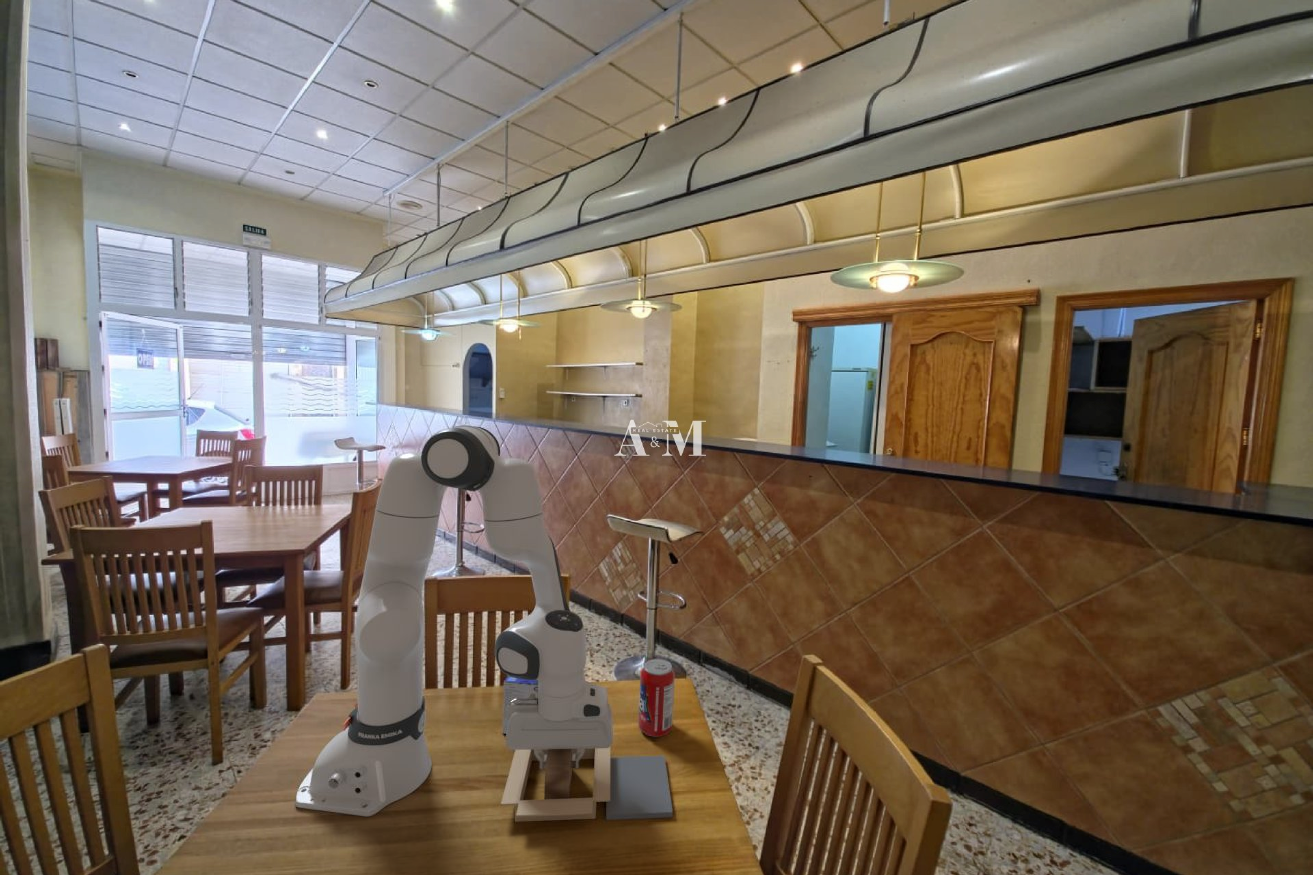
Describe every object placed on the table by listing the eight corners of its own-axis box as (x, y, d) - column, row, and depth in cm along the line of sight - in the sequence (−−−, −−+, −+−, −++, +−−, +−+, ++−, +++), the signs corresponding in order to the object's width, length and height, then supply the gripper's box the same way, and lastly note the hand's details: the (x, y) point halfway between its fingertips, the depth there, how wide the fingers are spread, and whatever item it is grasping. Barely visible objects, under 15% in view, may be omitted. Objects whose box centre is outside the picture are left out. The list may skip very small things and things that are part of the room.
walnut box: (544, 805, 90) (545, 764, 89) (550, 768, 99) (551, 730, 98) (568, 805, 90) (569, 764, 90) (572, 768, 99) (573, 730, 99)
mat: (606, 819, 88) (606, 814, 88) (606, 761, 102) (607, 757, 102) (672, 816, 89) (672, 811, 89) (664, 759, 103) (664, 755, 103)
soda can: (669, 742, 108) (672, 677, 107) (635, 737, 109) (637, 673, 108) (674, 719, 116) (676, 659, 115) (641, 714, 117) (644, 654, 116)
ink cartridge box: (552, 722, 113) (554, 662, 112) (544, 739, 108) (546, 676, 107) (511, 718, 114) (512, 658, 113) (501, 734, 109) (502, 671, 107)
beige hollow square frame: (497, 834, 84) (497, 815, 84) (519, 750, 104) (519, 734, 104) (609, 829, 86) (610, 811, 86) (609, 747, 106) (610, 732, 106)
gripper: (502, 709, 89) (500, 780, 90) (614, 707, 91) (611, 777, 92) (509, 688, 95) (508, 755, 97) (614, 687, 97) (611, 753, 98)
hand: (559, 766), depth 94 cm, fingers closed on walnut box, 4 cm apart
